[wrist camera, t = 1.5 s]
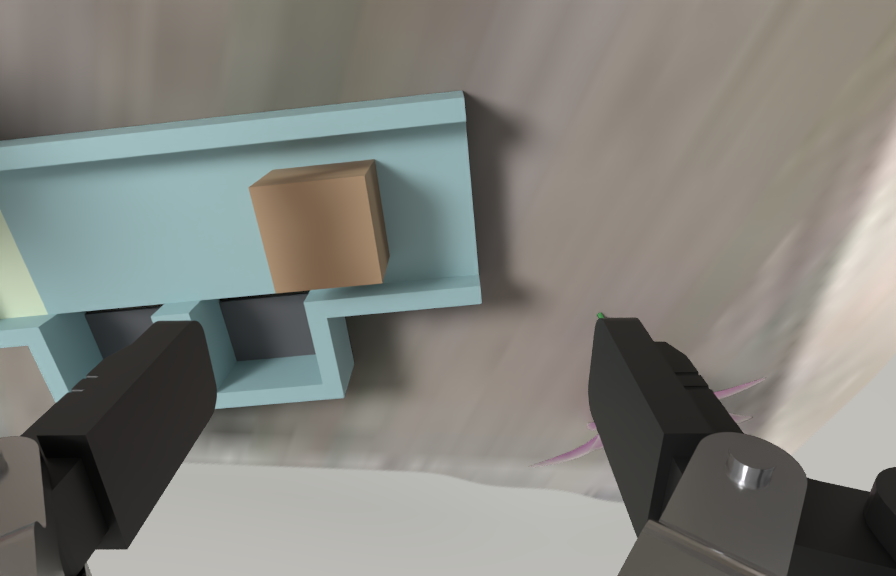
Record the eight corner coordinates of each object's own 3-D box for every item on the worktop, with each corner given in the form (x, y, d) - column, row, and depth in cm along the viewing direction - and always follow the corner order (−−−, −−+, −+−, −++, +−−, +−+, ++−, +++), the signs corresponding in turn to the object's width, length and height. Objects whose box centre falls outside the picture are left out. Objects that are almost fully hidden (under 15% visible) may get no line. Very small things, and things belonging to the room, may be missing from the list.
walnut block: (374, 159, 26) (364, 175, 23) (389, 255, 28) (382, 283, 25) (272, 169, 26) (248, 187, 23) (295, 265, 28) (275, 293, 25)
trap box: (462, 90, 27) (464, 97, 24) (485, 352, 33) (488, 385, 30) (-82, 149, 28) (-150, 163, 25) (39, 391, 34) (-3, 427, 31)
